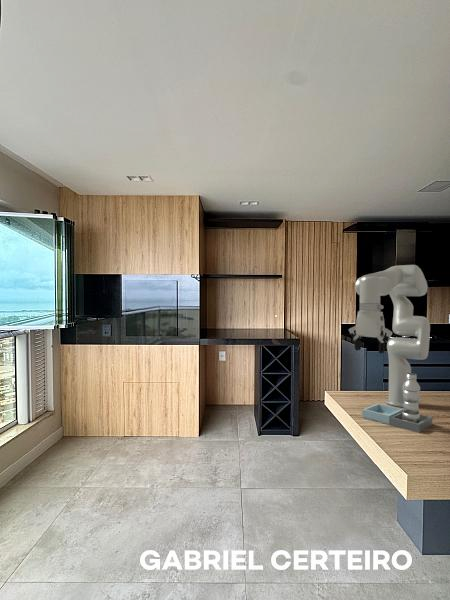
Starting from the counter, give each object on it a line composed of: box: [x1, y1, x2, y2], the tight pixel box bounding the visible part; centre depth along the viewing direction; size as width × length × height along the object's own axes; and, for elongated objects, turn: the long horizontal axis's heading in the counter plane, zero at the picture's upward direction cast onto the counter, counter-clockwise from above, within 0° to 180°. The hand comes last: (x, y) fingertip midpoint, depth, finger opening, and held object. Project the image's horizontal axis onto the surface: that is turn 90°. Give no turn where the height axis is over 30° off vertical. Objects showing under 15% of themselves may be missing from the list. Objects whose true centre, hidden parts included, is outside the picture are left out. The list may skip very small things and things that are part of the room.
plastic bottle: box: [402, 372, 421, 423], centre depth 139 cm, size 6×7×20 cm
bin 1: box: [361, 403, 403, 426], centre depth 147 cm, size 14×11×4 cm
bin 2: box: [388, 411, 433, 434], centre depth 139 cm, size 14×11×3 cm
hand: (369, 351), depth 138 cm, fingers open, 9 cm apart
